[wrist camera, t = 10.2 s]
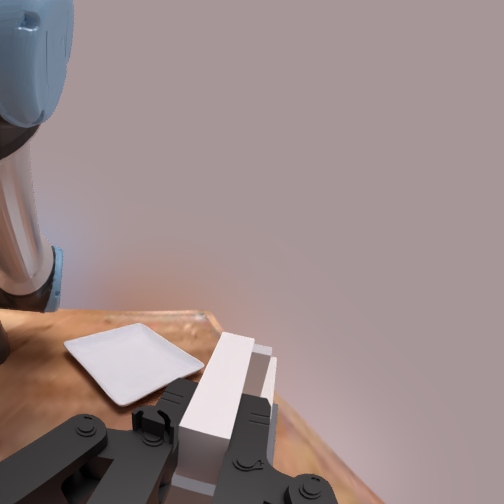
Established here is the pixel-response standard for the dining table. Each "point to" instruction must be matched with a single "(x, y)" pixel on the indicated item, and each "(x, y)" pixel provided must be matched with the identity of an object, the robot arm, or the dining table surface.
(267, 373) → the side cover
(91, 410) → the dining table surface
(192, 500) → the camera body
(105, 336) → the salad plate
